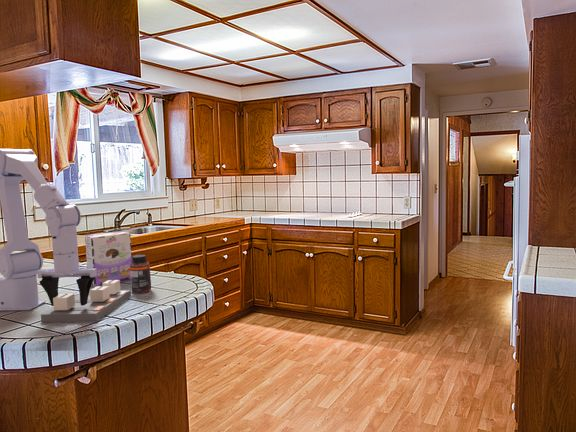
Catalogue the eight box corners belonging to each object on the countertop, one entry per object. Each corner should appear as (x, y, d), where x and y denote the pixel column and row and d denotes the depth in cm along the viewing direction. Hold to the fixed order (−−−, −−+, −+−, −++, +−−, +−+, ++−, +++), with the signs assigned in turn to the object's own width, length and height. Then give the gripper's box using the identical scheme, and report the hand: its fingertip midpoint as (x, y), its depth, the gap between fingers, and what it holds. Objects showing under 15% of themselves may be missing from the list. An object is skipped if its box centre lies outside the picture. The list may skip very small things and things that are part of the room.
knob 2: (102, 294, 131) (102, 283, 130) (108, 290, 135) (108, 279, 134) (114, 294, 131) (114, 282, 130) (120, 290, 135) (119, 279, 134)
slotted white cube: (53, 310, 116) (52, 297, 116) (62, 305, 120) (61, 293, 120) (67, 310, 116) (66, 297, 116) (75, 305, 120) (74, 293, 120)
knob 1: (90, 301, 123) (89, 289, 123) (97, 297, 127) (96, 286, 127) (103, 301, 123) (102, 289, 123) (109, 297, 127) (109, 285, 127)
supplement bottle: (144, 288, 147) (142, 253, 146) (155, 290, 143) (153, 255, 142) (127, 292, 142) (125, 256, 141) (138, 295, 138) (136, 258, 137)
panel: (41, 322, 114) (40, 313, 114) (85, 297, 137) (84, 289, 137) (96, 321, 114) (95, 312, 114) (131, 296, 137) (130, 289, 136)
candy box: (126, 276, 165) (123, 231, 163) (133, 278, 161) (131, 232, 159) (87, 283, 155) (84, 235, 154) (94, 286, 151) (91, 237, 150)
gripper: (28, 256, 113) (32, 309, 114) (86, 254, 112) (89, 308, 113) (44, 251, 120) (48, 301, 121) (99, 250, 119) (102, 300, 120)
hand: (69, 304), depth 118 cm, fingers open, 7 cm apart
